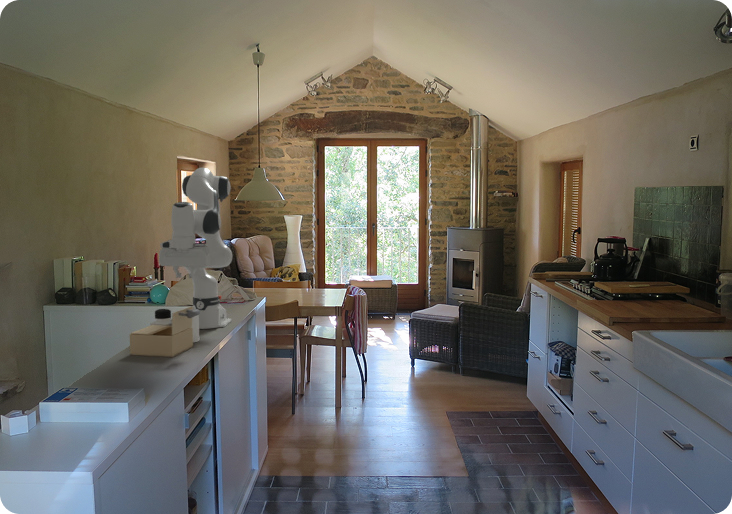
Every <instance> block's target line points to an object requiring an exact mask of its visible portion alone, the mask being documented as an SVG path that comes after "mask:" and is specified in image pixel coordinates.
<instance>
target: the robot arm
mask: <svg viewBox="0 0 732 514" xmlns="http://www.w3.org/2000/svg"><path fill="white" fill-rule="evenodd" d="M231 188H232V187H231V183H230V179H229V178H228V177H227V176H223V175H220V176H218V175H214V174H213V172H212V171H211V170H210V169H208V168H206V167H198V168H197V169H195V170H193V172H192V173H191V174H189V175H186V176H185V177H184V178H183V179H182V184H181V189H182V193H183V194H184V196H185V197H186V198H188V199H189V201H191V202H189V201H188V202H187V201H180V202H175V203H173V204H172V207H171V208H172V209H171V219H170V220H171V222H170V223H171V228H172V234H171V239H168V240H166V241H163V242H160V243H159V244H160V245H159V246H160V247H159V248H161V249H159V253H158V254H159V255H158V262H159V265H160V267H172V270H173V271H174V273H175V278H177V279H178V278H180V279H181V278H182V272H180V271H179V269H180V268H181V267H182V268H184V270H186V271H187V272H188V279H191V281H192V288H193V297H192V306H193V308H192V310H196V309H198V310H200V314H199V330H201V329H202V330H205V329H206V330H208V329H216V328H225V327H226V326H227V325H229V324H230V323H231V322H232V318H229V317H227V309H226V308H224V307H223V305H221V304H220V303H221V300H222V295H218V293H219V292H218V291H219V290H218V281H217V279H216V278H215V276H213V275H210V274H209V273H208V272H207V270H206V269H219V268H225V267H228V266H229V265H230V264H232V261H233V252H232V250H231V248H230V247H229V246H227V245H226V244H225V242H224V241H223V240H222V237H221V235H220V234H221V233H220V229H221V227H222V218H221V215H220V213H221V209H220V203H222V202H223V201H224V200H226V199H228V197H229V196H230V193H231ZM193 203H194V204H196V205H197V206H196V209H194V206H193ZM196 235H197V236H198V237H200V238H202V239H204V240H205V243H196Z"/></svg>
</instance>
